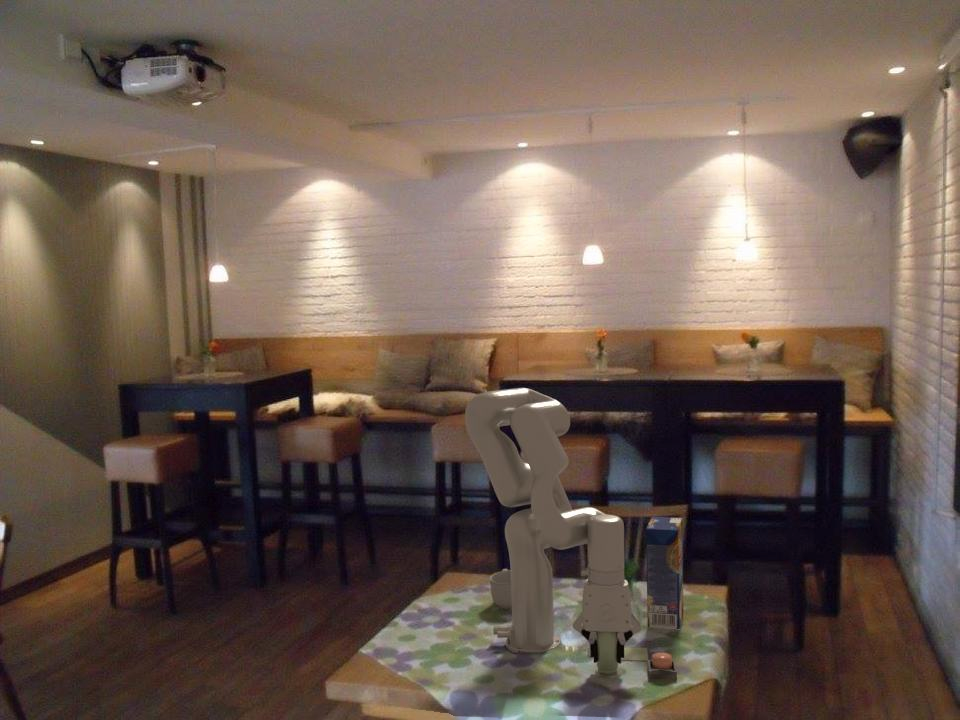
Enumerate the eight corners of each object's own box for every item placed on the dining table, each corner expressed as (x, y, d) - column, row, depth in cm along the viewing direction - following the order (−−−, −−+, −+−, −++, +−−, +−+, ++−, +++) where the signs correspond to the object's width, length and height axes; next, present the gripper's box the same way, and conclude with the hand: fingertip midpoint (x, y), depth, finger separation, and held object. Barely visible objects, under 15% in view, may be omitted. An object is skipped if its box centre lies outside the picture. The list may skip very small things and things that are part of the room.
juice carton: (679, 630, 216) (678, 530, 214) (647, 627, 218) (645, 528, 216) (683, 612, 227) (682, 517, 225) (653, 610, 229) (651, 516, 227)
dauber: (596, 674, 189) (596, 622, 188) (596, 666, 193) (596, 614, 192) (618, 675, 188) (617, 622, 187) (617, 666, 193) (617, 615, 192)
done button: (652, 669, 187) (652, 660, 187) (651, 661, 191) (651, 652, 191) (672, 670, 187) (672, 660, 187) (671, 662, 191) (671, 652, 191)
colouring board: (579, 686, 187) (579, 673, 186) (581, 648, 206) (581, 636, 206) (679, 689, 184) (678, 676, 184) (671, 650, 204) (671, 638, 203)
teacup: (533, 612, 231) (532, 581, 230) (490, 613, 231) (489, 582, 230) (530, 594, 244) (530, 565, 244) (490, 595, 245) (489, 566, 244)
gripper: (564, 580, 187) (566, 666, 188) (648, 582, 184) (649, 669, 186) (566, 568, 194) (567, 652, 196) (646, 570, 192) (647, 654, 193)
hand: (607, 659), depth 191 cm, fingers closed on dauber, 4 cm apart
